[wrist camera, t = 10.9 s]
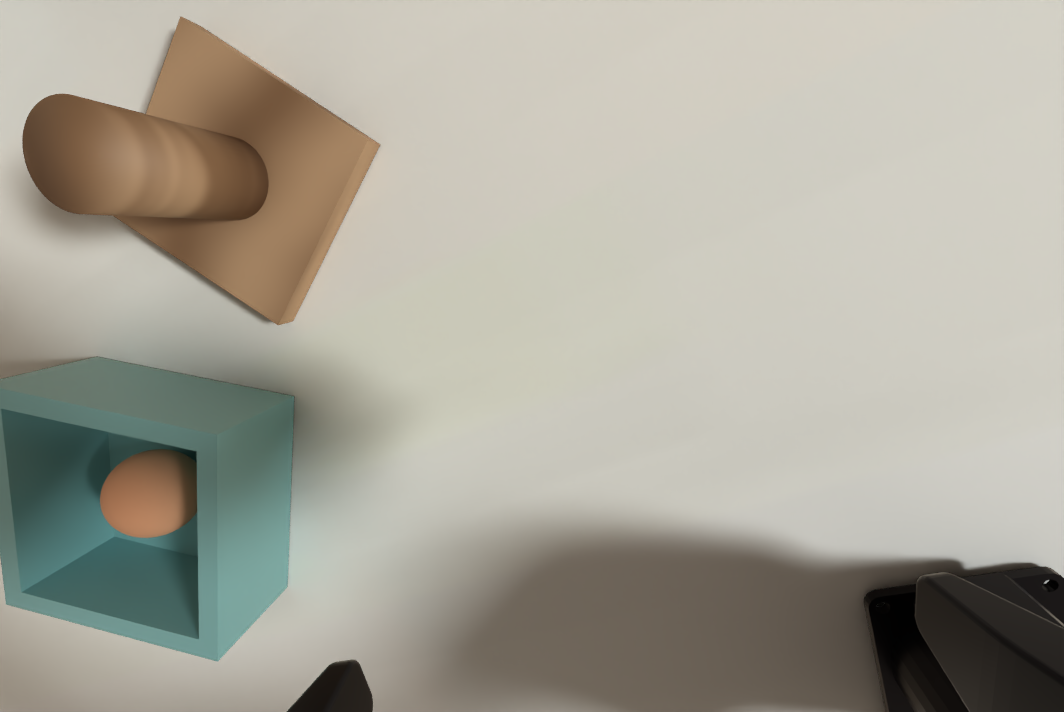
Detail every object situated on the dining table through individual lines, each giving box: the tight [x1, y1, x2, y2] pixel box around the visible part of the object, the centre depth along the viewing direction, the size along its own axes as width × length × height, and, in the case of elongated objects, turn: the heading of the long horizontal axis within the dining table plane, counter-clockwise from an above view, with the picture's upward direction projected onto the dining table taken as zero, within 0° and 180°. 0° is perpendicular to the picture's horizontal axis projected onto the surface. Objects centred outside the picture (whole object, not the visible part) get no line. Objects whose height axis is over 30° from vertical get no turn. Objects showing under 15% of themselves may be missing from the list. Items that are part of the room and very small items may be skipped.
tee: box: [23, 17, 380, 325], centre depth 17 cm, size 8×8×7 cm
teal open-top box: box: [0, 357, 294, 661], centre depth 22 cm, size 10×10×4 cm
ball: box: [100, 449, 197, 538], centre depth 22 cm, size 4×4×4 cm
